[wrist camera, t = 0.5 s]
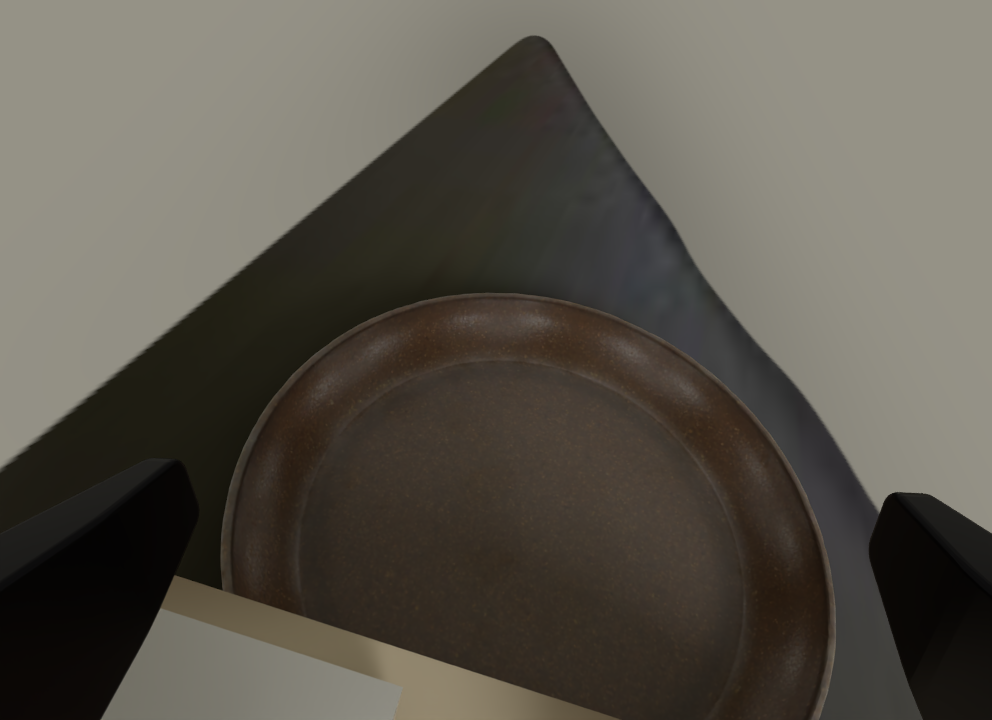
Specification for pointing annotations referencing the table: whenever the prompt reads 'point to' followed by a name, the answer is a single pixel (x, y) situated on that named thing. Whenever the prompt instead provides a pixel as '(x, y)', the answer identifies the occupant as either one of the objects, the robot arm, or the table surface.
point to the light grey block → (240, 680)
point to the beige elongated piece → (374, 661)
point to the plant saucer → (539, 513)
